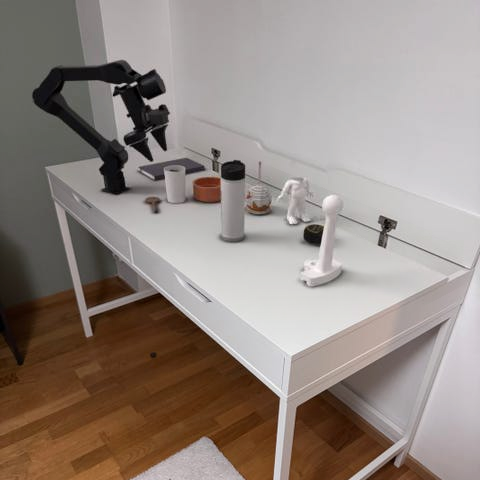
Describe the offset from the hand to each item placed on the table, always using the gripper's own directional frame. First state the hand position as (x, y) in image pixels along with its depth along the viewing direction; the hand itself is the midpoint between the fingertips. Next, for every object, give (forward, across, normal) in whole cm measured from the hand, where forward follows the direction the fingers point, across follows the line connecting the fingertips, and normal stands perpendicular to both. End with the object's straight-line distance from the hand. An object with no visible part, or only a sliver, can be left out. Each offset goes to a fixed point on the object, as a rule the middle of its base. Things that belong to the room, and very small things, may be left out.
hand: (159, 156), depth 147 cm
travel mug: (+22, -24, -28) cm, 43 cm away
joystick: (+31, -35, -52) cm, 70 cm away
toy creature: (+28, -6, -39) cm, 49 cm away
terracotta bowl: (+17, +2, -10) cm, 20 cm away
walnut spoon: (+11, -12, +1) cm, 17 cm away
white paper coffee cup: (+14, -5, -2) cm, 15 cm away
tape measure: (+31, -17, -48) cm, 60 cm away
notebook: (+10, +21, +13) cm, 27 cm away
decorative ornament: (+24, -4, -27) cm, 37 cm away
